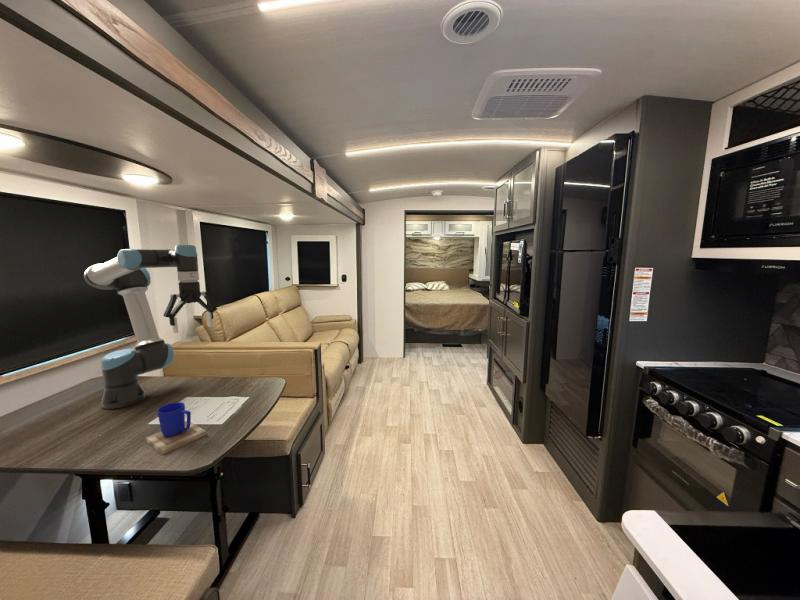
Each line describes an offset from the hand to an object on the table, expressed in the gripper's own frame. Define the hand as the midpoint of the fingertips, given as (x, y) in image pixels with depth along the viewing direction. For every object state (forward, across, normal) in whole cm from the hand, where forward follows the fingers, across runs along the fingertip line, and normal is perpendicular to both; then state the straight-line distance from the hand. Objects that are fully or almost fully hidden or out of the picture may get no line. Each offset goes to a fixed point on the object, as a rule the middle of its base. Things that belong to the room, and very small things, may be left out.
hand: (193, 329), depth 136 cm
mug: (+33, -17, -21) cm, 43 cm away
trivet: (+35, -18, -21) cm, 44 cm away
